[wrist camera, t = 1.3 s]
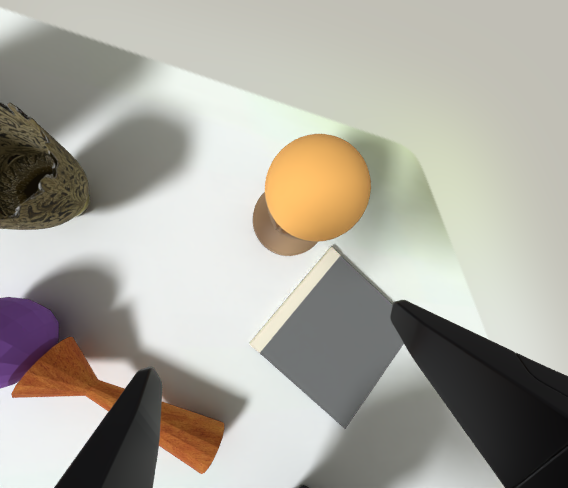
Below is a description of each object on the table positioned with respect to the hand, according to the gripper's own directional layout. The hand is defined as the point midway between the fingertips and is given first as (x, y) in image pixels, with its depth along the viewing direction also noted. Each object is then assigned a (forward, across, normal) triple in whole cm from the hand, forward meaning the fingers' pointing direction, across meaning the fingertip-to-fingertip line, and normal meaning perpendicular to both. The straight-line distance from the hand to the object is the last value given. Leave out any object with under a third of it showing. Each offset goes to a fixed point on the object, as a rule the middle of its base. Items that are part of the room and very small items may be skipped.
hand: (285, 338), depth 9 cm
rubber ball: (+8, -4, -3) cm, 9 cm away
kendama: (+10, +13, +11) cm, 20 cm away
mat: (+8, -7, +12) cm, 16 cm away
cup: (+18, +14, -1) cm, 23 cm away
